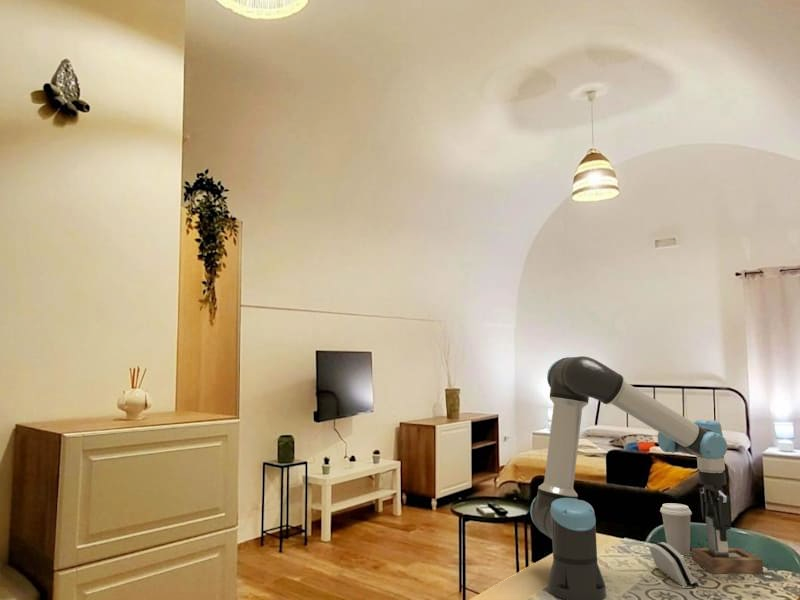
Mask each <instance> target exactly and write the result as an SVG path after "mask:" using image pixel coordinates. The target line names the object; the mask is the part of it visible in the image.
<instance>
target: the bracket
mask: <svg viewBox="0 0 800 600" xmlns="http://www.w3.org/2000/svg"><path fill="white" fill-rule="evenodd" d="M705 524H706V525H705V526H706V536H707V537H706V538H707V545H708V546H707V548H708V550H709V555H710V556H711V557H742V556H740V555H738V554H736V553H729V552H718V547H717V535H716V529H715V528H718V527H717V522H716V517H715V516H706V523H705ZM726 532H728V530H726ZM728 542H729V541H728V540H727V543H728ZM728 544H729V543H728Z"/></svg>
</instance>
